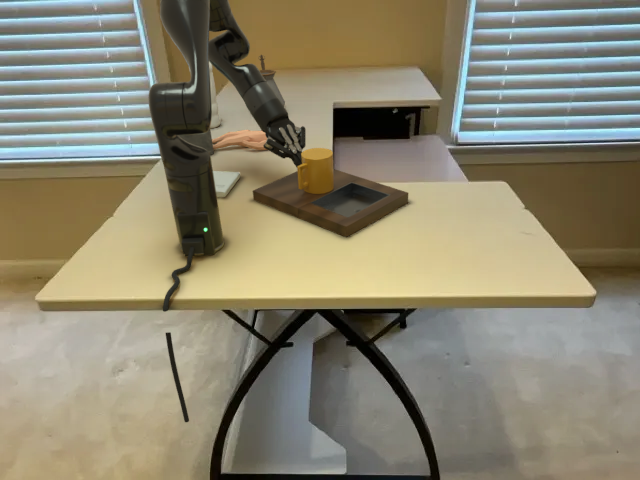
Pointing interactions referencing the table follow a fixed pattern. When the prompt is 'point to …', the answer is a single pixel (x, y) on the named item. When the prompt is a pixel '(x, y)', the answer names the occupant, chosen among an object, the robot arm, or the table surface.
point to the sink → (349, 199)
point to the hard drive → (225, 181)
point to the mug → (316, 171)
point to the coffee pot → (270, 79)
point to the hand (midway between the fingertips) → (304, 168)
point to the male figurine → (242, 139)
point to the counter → (297, 204)
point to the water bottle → (213, 101)
